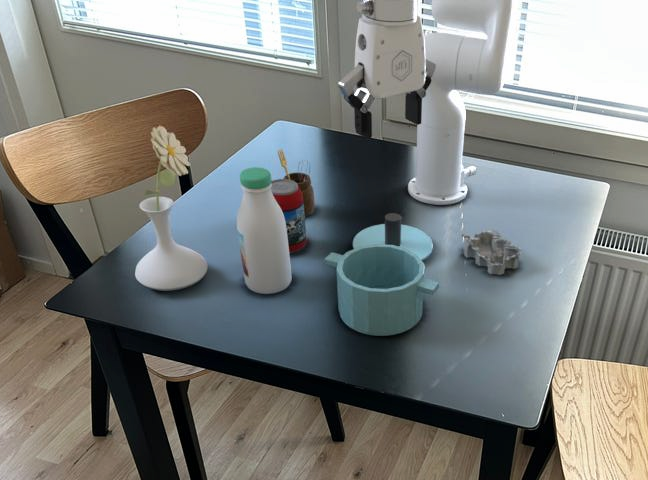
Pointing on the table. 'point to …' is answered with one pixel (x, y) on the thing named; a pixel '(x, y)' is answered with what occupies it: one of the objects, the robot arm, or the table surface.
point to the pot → (380, 288)
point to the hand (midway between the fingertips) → (389, 128)
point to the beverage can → (291, 211)
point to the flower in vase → (167, 225)
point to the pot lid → (396, 236)
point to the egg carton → (492, 251)
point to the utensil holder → (301, 185)
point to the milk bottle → (262, 235)
